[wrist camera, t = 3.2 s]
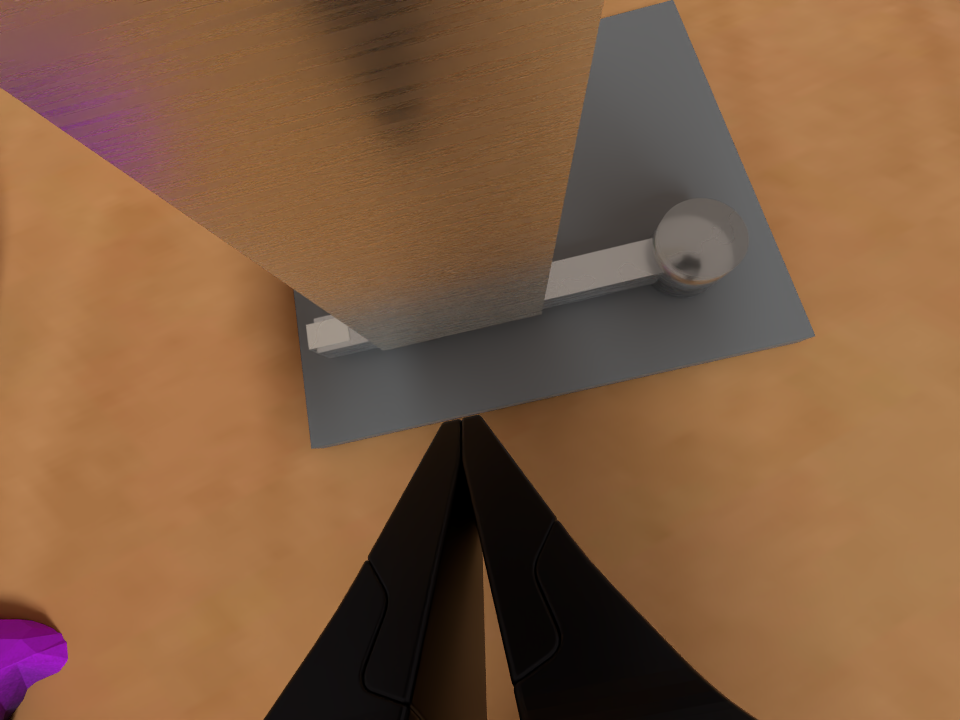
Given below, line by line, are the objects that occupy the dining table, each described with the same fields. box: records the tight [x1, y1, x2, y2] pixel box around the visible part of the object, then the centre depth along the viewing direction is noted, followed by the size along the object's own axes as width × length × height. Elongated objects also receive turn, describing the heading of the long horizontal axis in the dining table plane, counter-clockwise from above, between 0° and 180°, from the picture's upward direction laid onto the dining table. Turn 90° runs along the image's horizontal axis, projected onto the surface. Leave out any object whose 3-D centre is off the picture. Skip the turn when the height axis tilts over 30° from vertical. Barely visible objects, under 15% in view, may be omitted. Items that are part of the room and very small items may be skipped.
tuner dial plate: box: [293, 0, 815, 449], centre depth 17 cm, size 20×17×1 cm
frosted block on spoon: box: [0, 0, 749, 359], centre depth 9 cm, size 16×3×13 cm, turn 102°
